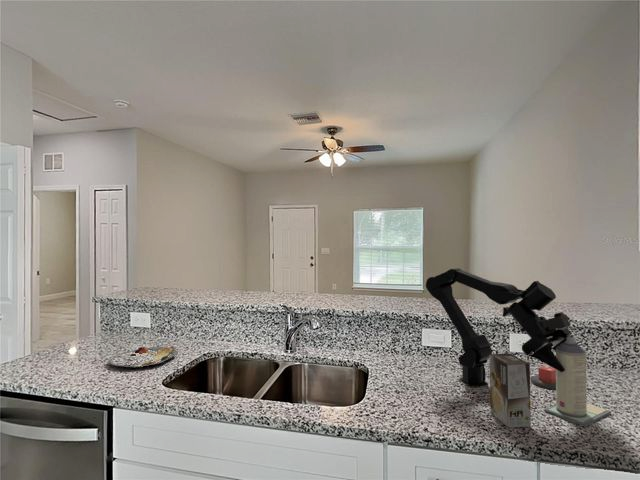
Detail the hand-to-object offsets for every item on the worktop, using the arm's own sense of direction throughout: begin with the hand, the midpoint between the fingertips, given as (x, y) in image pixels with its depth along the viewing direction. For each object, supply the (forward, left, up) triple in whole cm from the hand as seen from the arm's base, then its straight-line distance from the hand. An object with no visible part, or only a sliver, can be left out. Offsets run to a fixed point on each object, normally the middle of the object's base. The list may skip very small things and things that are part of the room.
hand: (570, 367), depth 101 cm
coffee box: (-18, +2, -13) cm, 22 cm away
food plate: (-124, +81, -13) cm, 149 cm away
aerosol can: (0, 0, -12) cm, 12 cm away
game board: (+3, +1, -13) cm, 13 cm away
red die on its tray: (+12, +20, -13) cm, 26 cm away
